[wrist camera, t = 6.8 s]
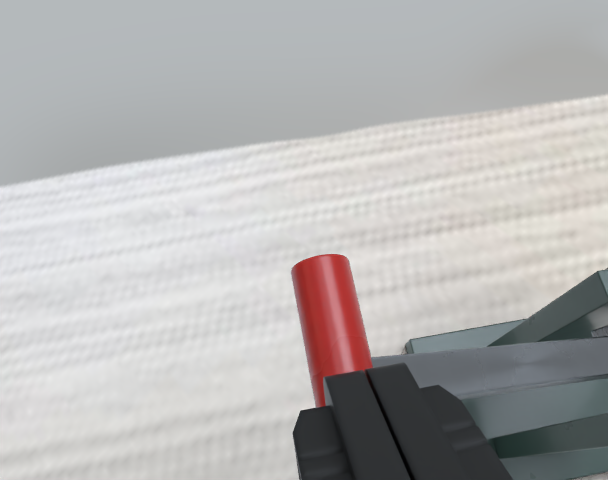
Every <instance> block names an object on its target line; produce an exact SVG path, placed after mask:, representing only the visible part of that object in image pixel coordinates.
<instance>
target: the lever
mask: <svg viewBox="0 0 608 480" xmlns="http://www.w3.org/2000/svg"><path fill="white" fill-rule="evenodd" d="M291 275H292V281H293V286H294V292H295V297H296V302H297V308H298V313H299V319H300V324H301V329H302V335H303V340H304V346H305V351H306V356H307V362H308V367H309V373H310V378H311V383H312V389H313V394H314V400H315V405H316V408H318V407H323V406H326V404H325V395H324V386H323V377H326V376H331V375H337V374H342V373H348V372H353V371H359V370H363V371H364V370H365V369H369V368H374V367H380V366H385V365H391V364H396V363H402V362H404V363H405V364H406V365H407V367H408V368H409V370H410V372H411V374H412V375H413V377H414V379H415V381H416V382H417V384H418V386H419V388H423V387H429V386H434V385H440V386H441V387H443V388H444V389H446V390H447V391H448V392H450V393H451V394H453V395H454V396H456V397H457V398H459V399H460V400H462V399H469V398H476V397H482V396H489V395H496V394H503V393H510V392H517V391H523V390H530V389H537V388H544V387H551V386H557V385H564V384H571V383H578V382H585V381H592V380H598V379H605V378H608V325H607V326H604V327H601V328H598V329H595V330H593V331H591V334H592V336H593V337H589V338H578V339H567V340H557V341H546V342H535V343H524V344H513V345H502V346H491V347H480V348H469V349H458V350H447V351H436V352H425V353H414V354H403V355H392V356H381V357H371V355H370V350H369V346H368V341H367V337H366V333H365V328H364V324H363V320H362V315H361V311H360V307H359V302H358V298H357V294H356V289H355V285H354V281H353V276H352V272H351V268H350V263H349V260H348V259H347V258H346V257H345V256H343V255H338V254H326V255H319V256H314V257H311V258H308V259H305V260H303V261H301V262H299V263H297V264H296V265H294V267H293V268H292V270H291Z"/></svg>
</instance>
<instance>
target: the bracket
mask: <svg viewBox="0 0 608 480" xmlns="http://www.w3.org/2000/svg"><path fill="white" fill-rule="evenodd" d="M607 325H608V268H607V269H605V270H600V271H597V272H596V273H594V274H593V275H591V276H590V277H588V278H587V279H585V280H584V281H582V282H581V283H579V284H578V285H576V286H575V287H573V288H572V289H570V290H569V291H568V292H566V293H565V294H563V295H562V296H560V297H559V298H557V299H556V300H554V301H553V302H551V303H550V304H548V305H547V306H545V307H544V308H542V309H541V310H540V311H538V312H537V313H535V314H534V315H532V316H531V317H529V318H528V319H522V320H517V321H511V322H505V323H500V324H494V325H489V326H483V327H477V328H472V329H466V330H460V331H455V332H449V333H444V334H438V335H432V336H427V337H421V338H415V339H410V340H409V341H408V342H407V344H406V349H407V353H408V354H414V353H425V352H436V351H447V350H458V349H469V348H480V347H491V346H502V345H513V344H524V343H535V342H546V341H557V340H567V339H578V338H589V337H593V336H592V334H591V331H593V330H595V329H598V328H601V327H604V326H607ZM461 401H462V402H463V404H464V405H465V407H466V408H467V410H468V411H469V413H470V414H471V416H472V417H473V419H474V421H475V424H476V426H478V427H479V428H480V430H481V431H482V433H483V434H484V436H485V437H486V439H487V443H488V444H490V445H491V447H492V448H493V450H494V451H495V453H496V454H497V456H498V457H499V459H500V460H501V462H502V463H503V465H504V466H505V468H506V469H507V471H508V473H509V474H510V476H511V477H512V479H513V480H571V479H576V478H580V477H585V476H590V475H595V474H599V473H604V472H608V378H605V379H598V380H592V381H585V382H578V383H571V384H564V385H557V386H551V387H544V388H537V389H530V390H523V391H517V392H510V393H503V394H496V395H489V396H482V397H476V398H469V399H462V400H461Z"/></svg>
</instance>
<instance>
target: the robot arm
mask: <svg viewBox="0 0 608 480" xmlns="http://www.w3.org/2000/svg"><path fill="white" fill-rule="evenodd" d="M323 386H324V395H325V404H326V406H323V407H318V408H312V409H307V410H302V411H300V414H299V417H298V419H297V422H296V425H295V428H294V431H293V439H294V445H295V452H296V459H297V466H298V473H299V480H513V479H512V477H511V476H510V474H509V473H508V471H507V469H506V468H505V466H504V465H503V463H502V462H501V460H500V459H499V457H498V456H497V454H496V453H495V451H494V450H493V448H492V447H491V445H490V444H488V443H487V439H486V437H485V436H484V434H483V433H482V431H481V430H480V428H479V427H478V426H476V424H475V421H474V419H473V417H472V416H471V414H470V413H469V411H468V410H467V408H466V407H465V405H464V404H463V402H462V401H461V400H460V399H459V398H457V397H456V396H454V395H453V394H451V393H450V392H448V391H447V390H446V389H444V388H443V387H441V386H440V385H434V386H429V387H423V388H419V386H418V384H417V382H416V381H415V379H414V377H413V375H412V374H411V372H410V370H409V368H408V367H407V365H406V364H405V363H404V362H402V363H396V364H391V365H385V366H380V367H374V368H369V369H365V370H364V371H363V370H359V371H353V372H348V373H342V374H337V375H331V376H326V377H323Z"/></svg>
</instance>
